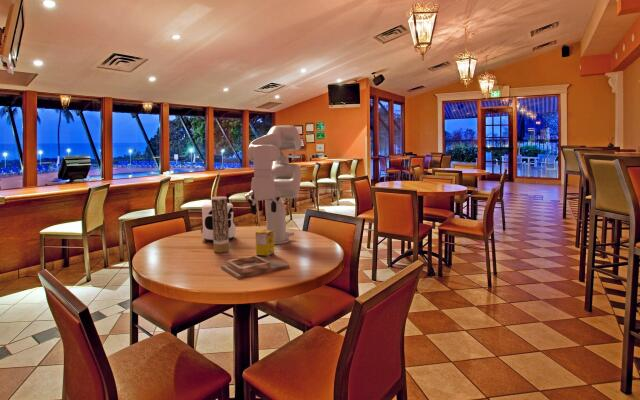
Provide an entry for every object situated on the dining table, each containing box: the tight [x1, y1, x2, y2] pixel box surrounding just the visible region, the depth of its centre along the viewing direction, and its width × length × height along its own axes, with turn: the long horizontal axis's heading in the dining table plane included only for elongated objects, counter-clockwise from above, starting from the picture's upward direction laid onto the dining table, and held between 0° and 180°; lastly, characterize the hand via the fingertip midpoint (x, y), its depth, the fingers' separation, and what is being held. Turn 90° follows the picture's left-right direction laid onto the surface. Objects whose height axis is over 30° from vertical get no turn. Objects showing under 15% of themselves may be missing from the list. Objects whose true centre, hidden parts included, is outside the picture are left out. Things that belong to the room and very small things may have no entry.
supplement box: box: [255, 229, 275, 257], centre depth 175 cm, size 6×6×11 cm
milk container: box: [200, 202, 237, 242], centre depth 204 cm, size 17×17×18 cm
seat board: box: [220, 254, 290, 280], centre depth 157 cm, size 22×16×3 cm
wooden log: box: [211, 196, 230, 254], centre depth 181 cm, size 7×7×25 cm
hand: (263, 213), depth 172 cm, fingers open, 9 cm apart
